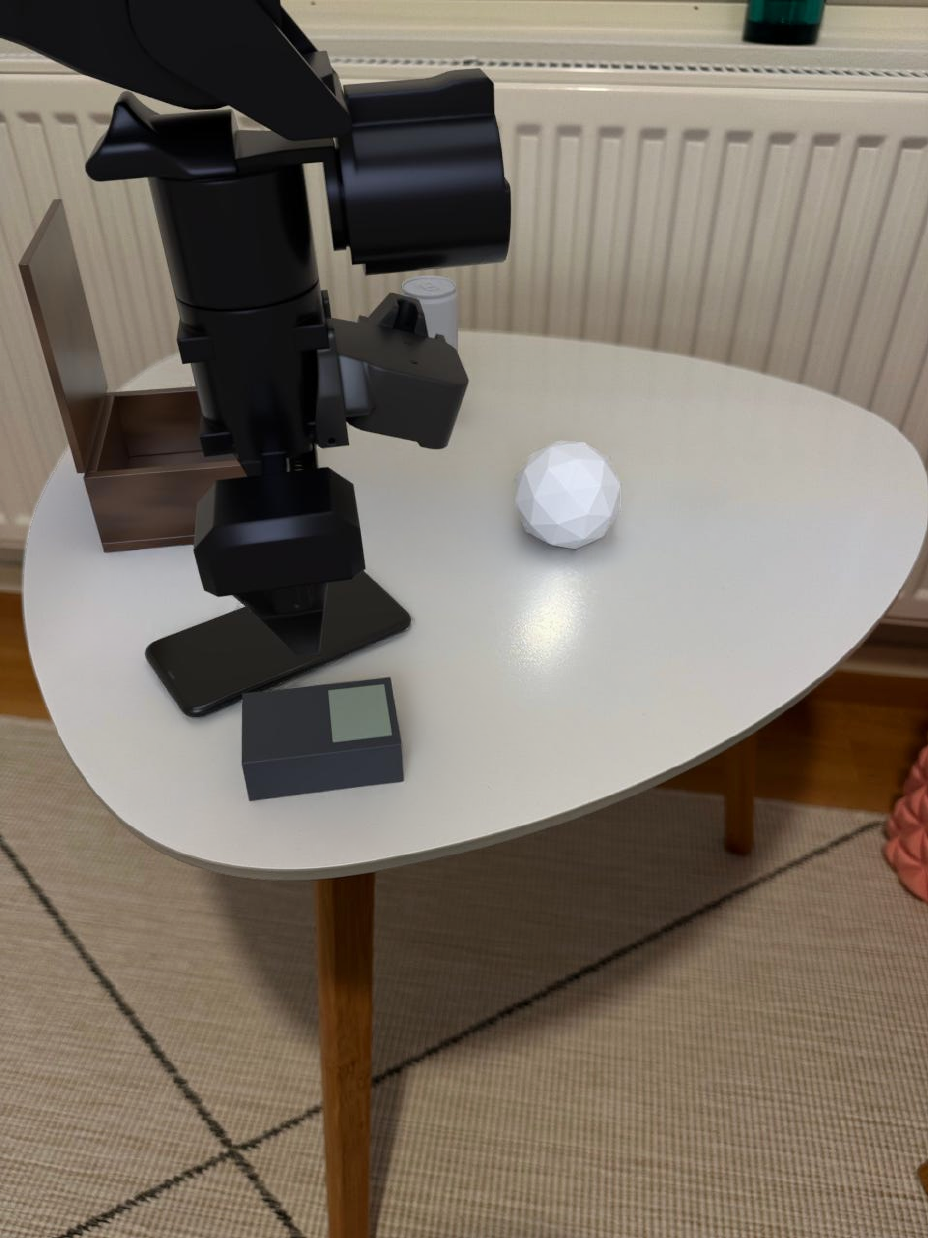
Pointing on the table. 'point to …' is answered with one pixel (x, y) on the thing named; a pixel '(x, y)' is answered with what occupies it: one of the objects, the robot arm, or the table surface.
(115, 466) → the case
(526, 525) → the geometric ball
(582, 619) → the table surface
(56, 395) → the case lid
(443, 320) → the beverage can
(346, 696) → the black lcd device
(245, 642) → the smartphone
